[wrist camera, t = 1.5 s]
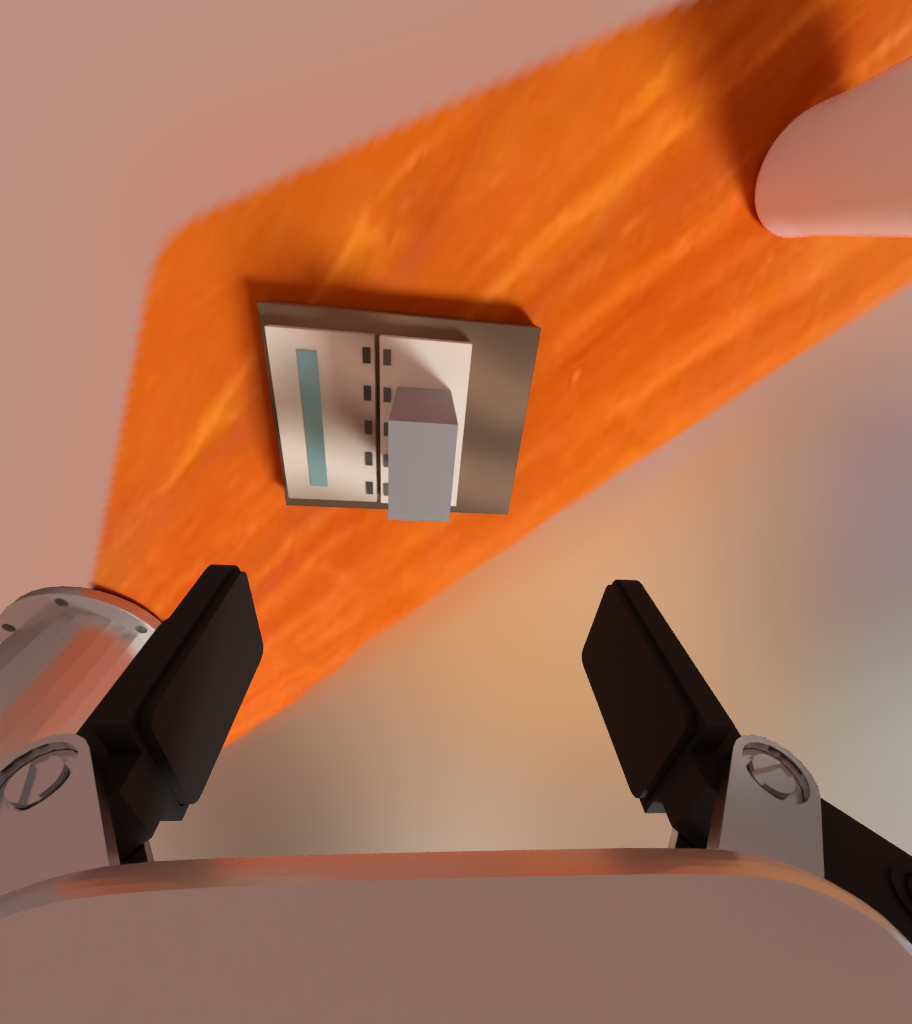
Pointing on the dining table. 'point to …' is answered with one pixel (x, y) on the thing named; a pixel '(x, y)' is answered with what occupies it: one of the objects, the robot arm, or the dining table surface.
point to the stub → (422, 424)
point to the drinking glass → (844, 164)
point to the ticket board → (356, 401)
